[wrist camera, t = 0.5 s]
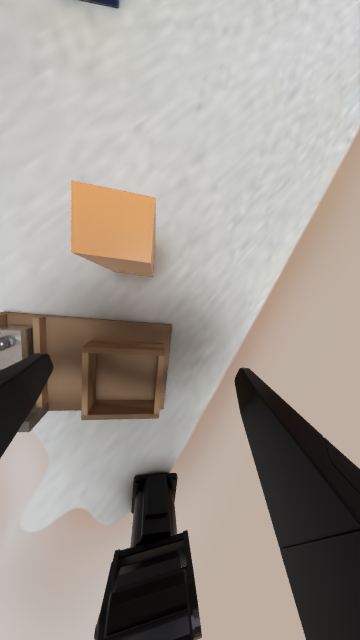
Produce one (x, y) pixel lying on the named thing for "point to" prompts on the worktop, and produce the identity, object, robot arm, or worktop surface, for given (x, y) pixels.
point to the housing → (99, 366)
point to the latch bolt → (15, 344)
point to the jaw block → (113, 228)
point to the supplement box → (105, 2)
